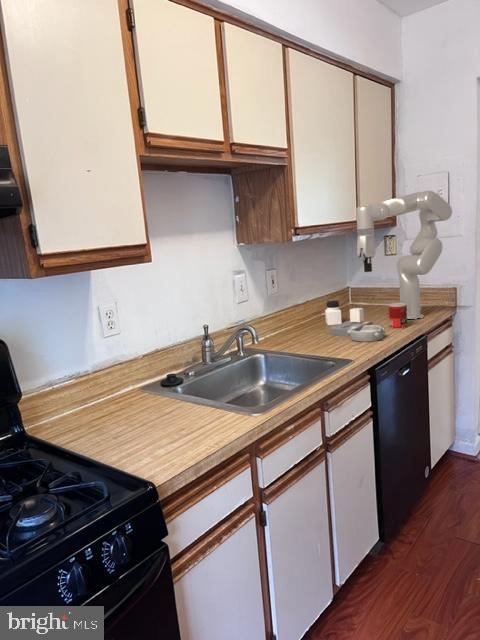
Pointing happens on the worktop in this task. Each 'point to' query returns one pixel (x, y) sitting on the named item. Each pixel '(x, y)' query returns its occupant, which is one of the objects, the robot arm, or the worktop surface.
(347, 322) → the breaker panel
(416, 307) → the robot arm
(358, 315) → the block
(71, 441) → the worktop surface
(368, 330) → the dish
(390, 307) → the canned food
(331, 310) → the medicine bottle
